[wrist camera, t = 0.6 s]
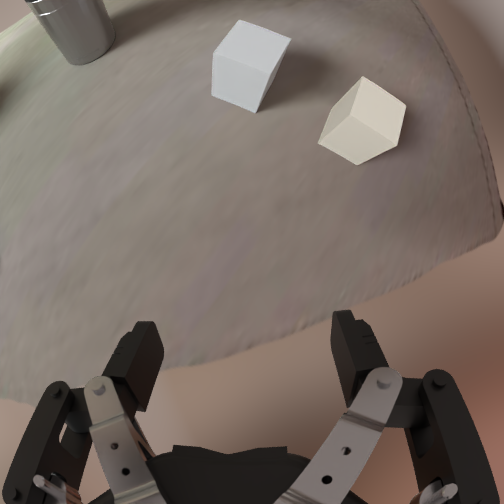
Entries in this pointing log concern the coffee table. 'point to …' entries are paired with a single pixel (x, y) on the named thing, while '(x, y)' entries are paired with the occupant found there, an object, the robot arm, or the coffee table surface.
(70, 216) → the coffee table surface
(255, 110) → the cover
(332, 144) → the cover
